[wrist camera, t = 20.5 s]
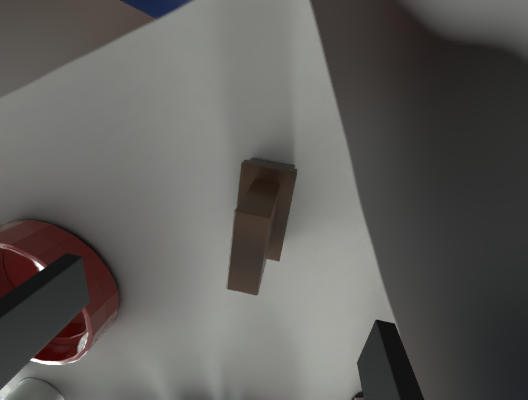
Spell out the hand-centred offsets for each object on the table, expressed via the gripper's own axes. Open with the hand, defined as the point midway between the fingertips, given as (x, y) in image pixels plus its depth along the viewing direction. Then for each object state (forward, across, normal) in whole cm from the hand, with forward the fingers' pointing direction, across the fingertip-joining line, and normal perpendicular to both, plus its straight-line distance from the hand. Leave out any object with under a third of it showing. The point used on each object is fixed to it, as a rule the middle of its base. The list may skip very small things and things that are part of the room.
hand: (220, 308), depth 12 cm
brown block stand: (+14, 0, -1) cm, 14 cm away
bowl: (+14, -24, -16) cm, 32 cm away
